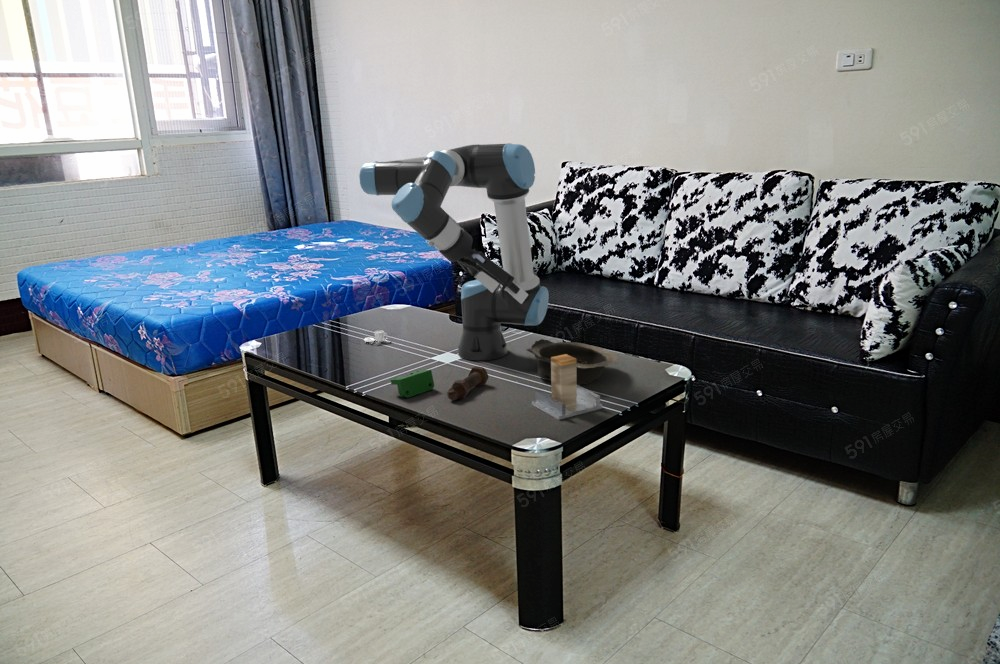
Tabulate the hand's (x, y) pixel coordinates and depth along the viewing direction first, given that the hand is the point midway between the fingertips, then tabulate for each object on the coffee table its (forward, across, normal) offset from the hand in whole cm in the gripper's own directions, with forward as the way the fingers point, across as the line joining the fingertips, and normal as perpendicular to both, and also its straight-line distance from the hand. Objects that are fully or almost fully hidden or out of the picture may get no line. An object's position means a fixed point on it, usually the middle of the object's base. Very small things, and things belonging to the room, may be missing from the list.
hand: (509, 293), depth 180 cm
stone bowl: (+40, -11, -3) cm, 42 cm away
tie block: (+28, +7, -13) cm, 31 cm away
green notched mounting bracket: (+10, -26, -33) cm, 43 cm away
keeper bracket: (+29, +7, -13) cm, 32 cm away
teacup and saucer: (+18, -78, -26) cm, 84 cm away
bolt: (+18, -17, -25) cm, 35 cm away
